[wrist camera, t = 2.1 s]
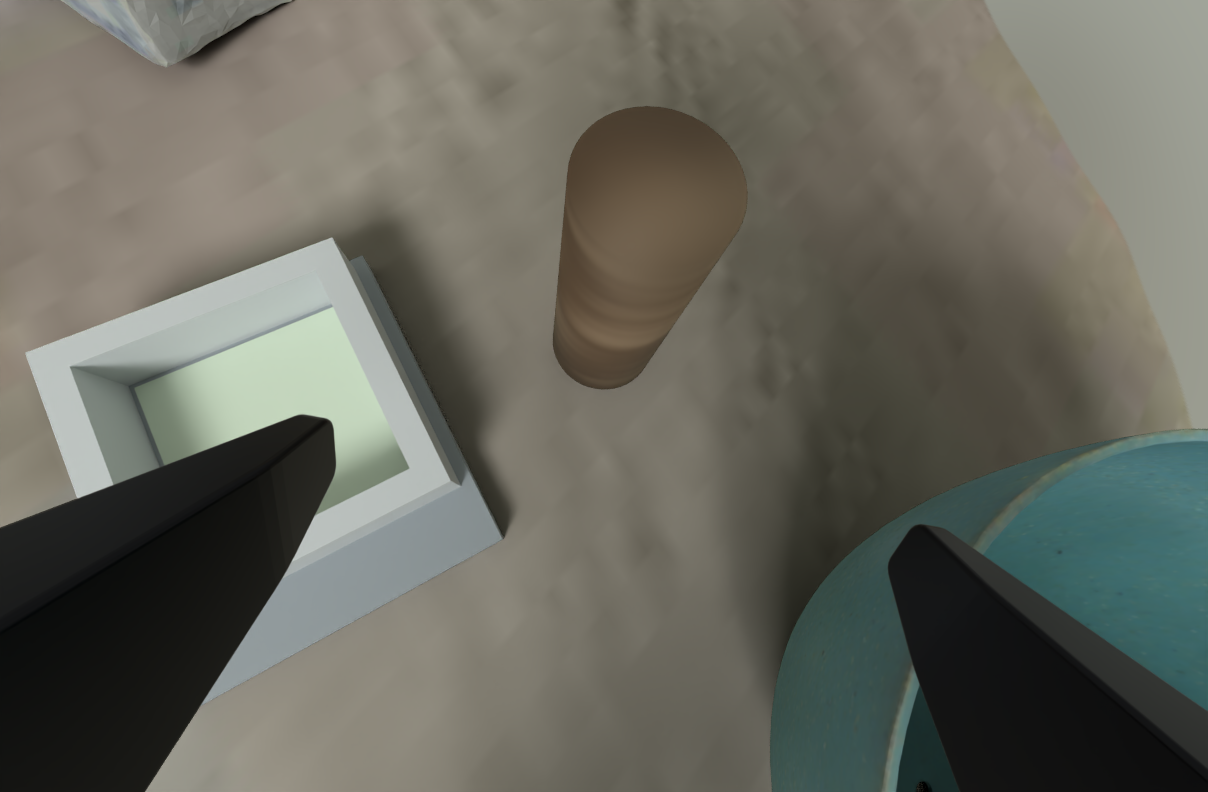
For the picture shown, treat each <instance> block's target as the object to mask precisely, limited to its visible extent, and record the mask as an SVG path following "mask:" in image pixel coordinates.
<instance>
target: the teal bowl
mask: <svg viewBox="0 0 1208 792" xmlns="http://www.w3.org/2000/svg"><path fill="white" fill-rule="evenodd" d="M917 524H925V525H930V526H936V527H941V528H944V529H946V530H948V531H949V532H951V533H952V534H954V535H955V536H956V537H958V538H959V539H961V540H962V541H964V542H965V543H967V544H968V545H969V546H971V547H972V548H974V549H975V550H977V551H978V552H980V553H981V554H982V555H984V556H985V557H987V558H988V559H990V560H991V561H992V562H994V563H995V564H997V565H998V566H1000V567H1001V568H1003V569H1004V570H1005V571H1007V572H1008V573H1010V574H1011V575H1013V576H1014V577H1015V578H1017V579H1018V580H1020V581H1021V582H1023V583H1024V584H1026V585H1027V586H1028V587H1030V588H1031V589H1033V590H1034V591H1036V592H1037V593H1039V594H1040V595H1041V596H1043V597H1044V598H1046V599H1047V600H1049V601H1050V602H1051V603H1053V604H1054V605H1056V606H1057V607H1059V608H1060V609H1062V610H1063V611H1064V612H1066V613H1067V614H1069V615H1070V616H1072V617H1073V618H1074V619H1076V620H1077V621H1079V622H1080V623H1082V624H1083V625H1085V626H1086V627H1087V628H1089V629H1090V630H1092V631H1093V632H1095V633H1096V634H1097V635H1099V636H1100V637H1102V638H1103V639H1105V640H1106V641H1108V642H1109V643H1110V644H1112V645H1113V646H1115V647H1116V648H1118V649H1119V650H1121V651H1122V652H1123V653H1125V654H1126V655H1128V656H1129V657H1131V658H1132V659H1133V660H1135V661H1136V662H1138V663H1139V664H1141V665H1142V666H1144V667H1145V668H1146V669H1148V670H1149V671H1151V672H1152V673H1154V674H1155V675H1156V676H1158V677H1159V678H1161V679H1162V680H1164V681H1165V682H1167V683H1168V684H1169V685H1171V686H1172V687H1174V688H1175V689H1177V690H1178V691H1179V692H1181V693H1182V694H1184V695H1185V696H1187V697H1188V698H1190V699H1191V700H1192V701H1194V702H1195V703H1197V704H1198V705H1200V706H1201V707H1203V708H1204V709H1205V710H1207V711H1208V429H1182V430H1169V431H1162V432H1155V433H1149V434H1143V435H1137V436H1130V437H1124V438H1119V439H1114V440H1109V441H1104V442H1099V443H1094V444H1090V445H1086V446H1081V447H1077V448H1073V449H1069V450H1064V451H1060V452H1057V453H1053V454H1050V455H1046V456H1042V457H1039V458H1035V459H1032V460H1029V461H1026V462H1023V463H1020V464H1017V465H1014V466H1011V467H1008V468H1005V469H1002V470H999V471H995V472H993V473H990V474H988V475H985V476H982V477H980V478H977V479H975V480H972V481H969V482H967V483H964V484H962V485H960V486H957V487H955V488H953V489H951V490H949V491H946V492H944V493H942V494H940V495H937V496H935V497H933V498H931V499H929V500H928V501H926V502H924V503H922V504H920V505H918V506H916V507H915V508H913V509H911V510H909V511H908V512H906V513H904V514H903V515H901V516H900V517H898V518H896V519H895V520H893V521H891V522H890V523H888V524H886V525H885V526H883V527H882V528H881V529H879V530H878V531H877V532H875V533H874V534H873V535H871V536H870V537H869V538H867V539H866V540H865V541H864V542H862V543H861V544H860V545H859V546H857V547H856V548H855V549H854V550H853V551H852V552H851V553H850V554H848V555H847V556H846V557H845V558H844V559H843V560H842V561H841V562H840V563H839V564H838V565H837V566H836V567H835V568H834V569H833V571H832V572H831V573H830V574H829V575H828V576H827V577H826V579H825V580H824V581H823V582H822V583H821V585H820V586H819V587H818V589H817V590H816V592H815V593H814V595H813V596H812V598H811V599H810V601H809V602H808V604H807V605H806V607H805V609H804V611H803V612H802V614H801V616H800V617H799V619H798V621H797V623H796V625H795V627H794V629H793V632H792V634H791V636H790V638H789V641H788V644H787V647H786V650H785V652H784V655H783V659H782V663H781V666H780V670H779V674H778V678H777V683H776V687H775V693H774V701H773V709H772V717H771V735H770V766H771V782H772V792H916V788H917V785H918V784H919V782H925V783H926V785H927V786H928V792H959V790H958V787H957V784H956V781H955V779H954V776H953V773H952V771H951V768H950V765H949V763H948V760H947V757H946V755H945V752H944V749H943V747H942V744H941V741H940V738H939V736H938V733H937V730H936V728H935V725H934V722H933V720H932V717H931V714H930V712H929V709H928V706H927V703H926V701H925V698H924V695H923V693H922V690H921V687H920V685H919V682H918V679H917V676H916V673H915V670H914V667H913V664H912V661H911V657H910V654H909V650H908V647H907V643H906V639H905V635H904V632H903V628H902V624H901V621H900V617H899V613H898V609H897V606H896V602H895V598H894V595H893V591H892V587H891V583H890V580H889V576H888V562H889V559H890V557H891V555H892V554H893V552H894V551H895V550H896V548H897V547H898V545H899V544H900V542H901V541H902V539H903V538H904V537H905V535H906V534H907V532H908V531H909V529H910V528H911V527H913V526H915V525H917Z"/></svg>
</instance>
